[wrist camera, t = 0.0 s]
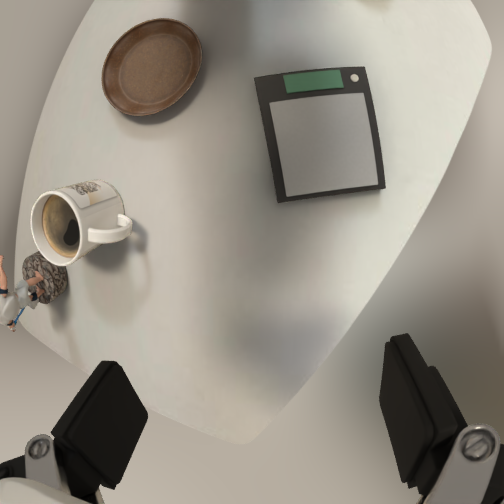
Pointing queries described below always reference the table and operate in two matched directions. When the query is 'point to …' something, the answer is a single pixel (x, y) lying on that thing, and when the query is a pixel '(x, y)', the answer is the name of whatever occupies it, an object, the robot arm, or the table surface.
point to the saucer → (151, 66)
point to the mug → (78, 220)
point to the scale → (321, 132)
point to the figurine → (31, 287)
